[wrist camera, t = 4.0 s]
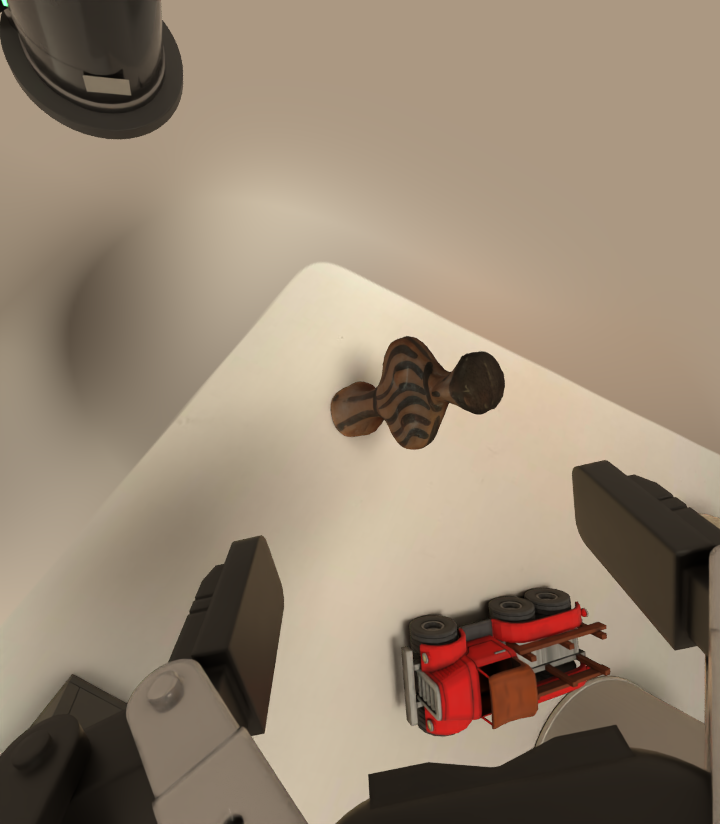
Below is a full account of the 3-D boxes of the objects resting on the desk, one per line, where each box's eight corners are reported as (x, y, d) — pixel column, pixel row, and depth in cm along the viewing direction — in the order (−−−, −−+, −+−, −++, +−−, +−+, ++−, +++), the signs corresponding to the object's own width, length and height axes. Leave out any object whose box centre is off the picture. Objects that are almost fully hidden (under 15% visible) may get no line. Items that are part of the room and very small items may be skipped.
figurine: (324, 363, 38) (435, 301, 21) (379, 359, 40) (520, 299, 23) (335, 451, 38) (455, 458, 21) (389, 443, 40) (539, 444, 23)
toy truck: (389, 623, 39) (439, 668, 31) (553, 583, 45) (628, 611, 38) (396, 718, 39) (448, 787, 31) (560, 663, 45) (637, 709, 37)
